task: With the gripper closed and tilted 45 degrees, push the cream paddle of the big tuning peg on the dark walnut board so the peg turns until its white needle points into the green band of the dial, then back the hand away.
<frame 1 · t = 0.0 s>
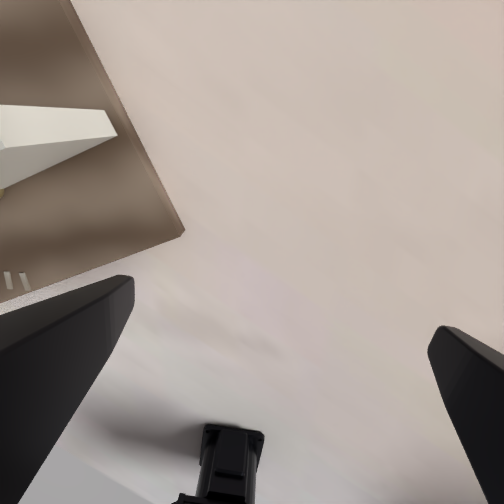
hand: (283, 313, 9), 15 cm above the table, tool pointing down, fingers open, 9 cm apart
tuner board: (16, 173, 23), on the table
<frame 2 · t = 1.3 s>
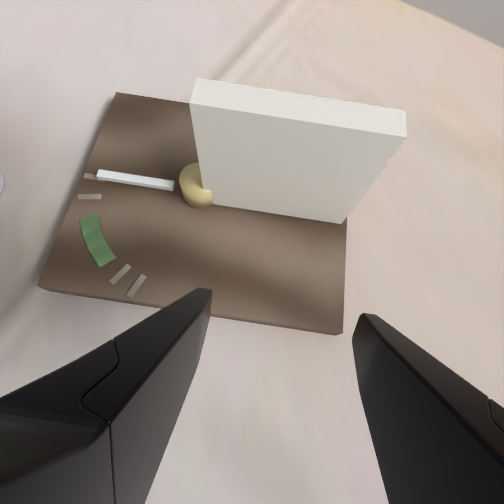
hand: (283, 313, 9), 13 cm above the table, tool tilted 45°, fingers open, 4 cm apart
tuner board: (215, 206, 24), on the table
tuning peg: (218, 156, 18), point 6 cm above the table, hinge at 0.0°
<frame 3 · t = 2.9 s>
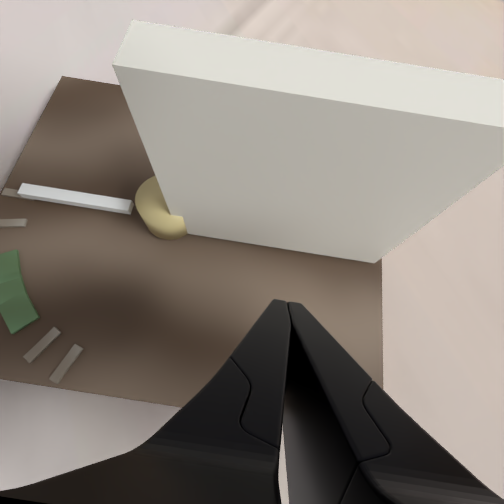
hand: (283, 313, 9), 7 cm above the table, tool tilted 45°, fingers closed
tuner board: (195, 234, 17), on the table
tuning peg: (189, 166, 11), point 6 cm above the table, hinge at 0.0°
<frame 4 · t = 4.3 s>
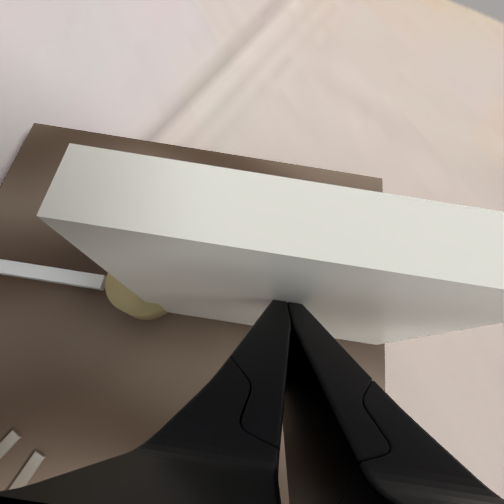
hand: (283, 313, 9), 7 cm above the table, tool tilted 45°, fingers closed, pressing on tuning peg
tuner board: (178, 303, 16), on the table
tuning peg: (160, 264, 10), point 6 cm above the table, hinge at 0.1°, touching gripper
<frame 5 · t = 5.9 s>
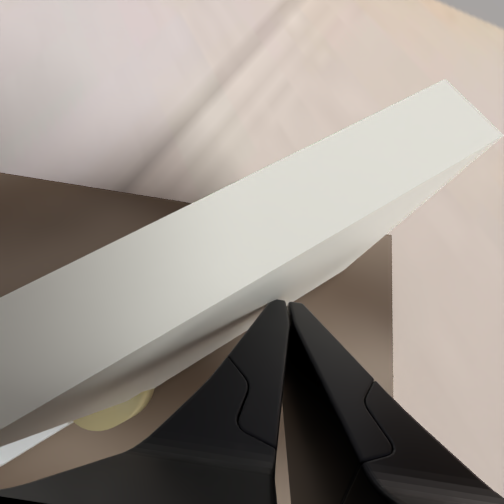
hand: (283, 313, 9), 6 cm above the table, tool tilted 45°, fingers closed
tuner board: (157, 384, 14), on the table
tuning peg: (117, 363, 8), point 6 cm above the table, hinge at 40.0°, touching gripper
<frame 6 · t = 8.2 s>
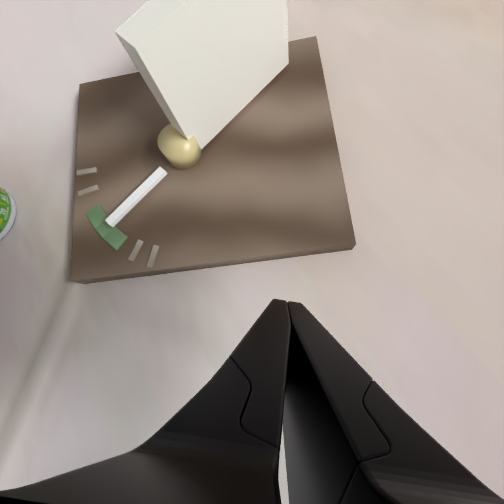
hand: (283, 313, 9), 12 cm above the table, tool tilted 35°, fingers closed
tuner board: (204, 163, 24), on the table
tuning peg: (176, 95, 19), point 6 cm above the table, hinge at 40.1°
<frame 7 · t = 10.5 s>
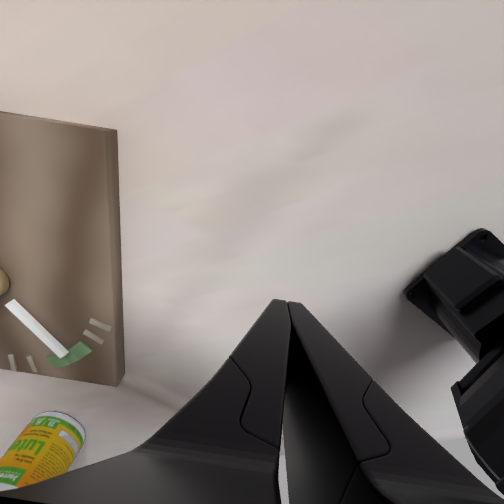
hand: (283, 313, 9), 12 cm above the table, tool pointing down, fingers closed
tuner board: (8, 255, 23), on the table
supplement bottle: (61, 426, 31), on the table
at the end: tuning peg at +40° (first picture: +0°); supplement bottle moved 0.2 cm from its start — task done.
